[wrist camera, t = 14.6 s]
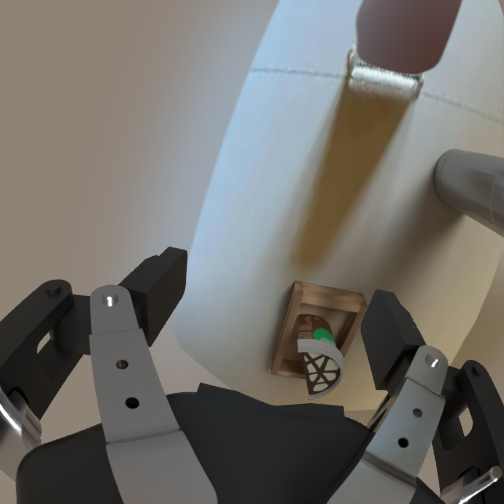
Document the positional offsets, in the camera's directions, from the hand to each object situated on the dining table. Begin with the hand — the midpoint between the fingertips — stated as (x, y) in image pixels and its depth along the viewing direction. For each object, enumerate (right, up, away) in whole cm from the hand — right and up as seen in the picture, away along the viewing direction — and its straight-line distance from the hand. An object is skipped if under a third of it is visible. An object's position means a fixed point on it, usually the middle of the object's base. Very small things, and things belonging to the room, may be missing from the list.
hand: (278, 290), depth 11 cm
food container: (+11, -12, +34) cm, 37 cm away
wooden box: (+10, -12, +34) cm, 38 cm away
